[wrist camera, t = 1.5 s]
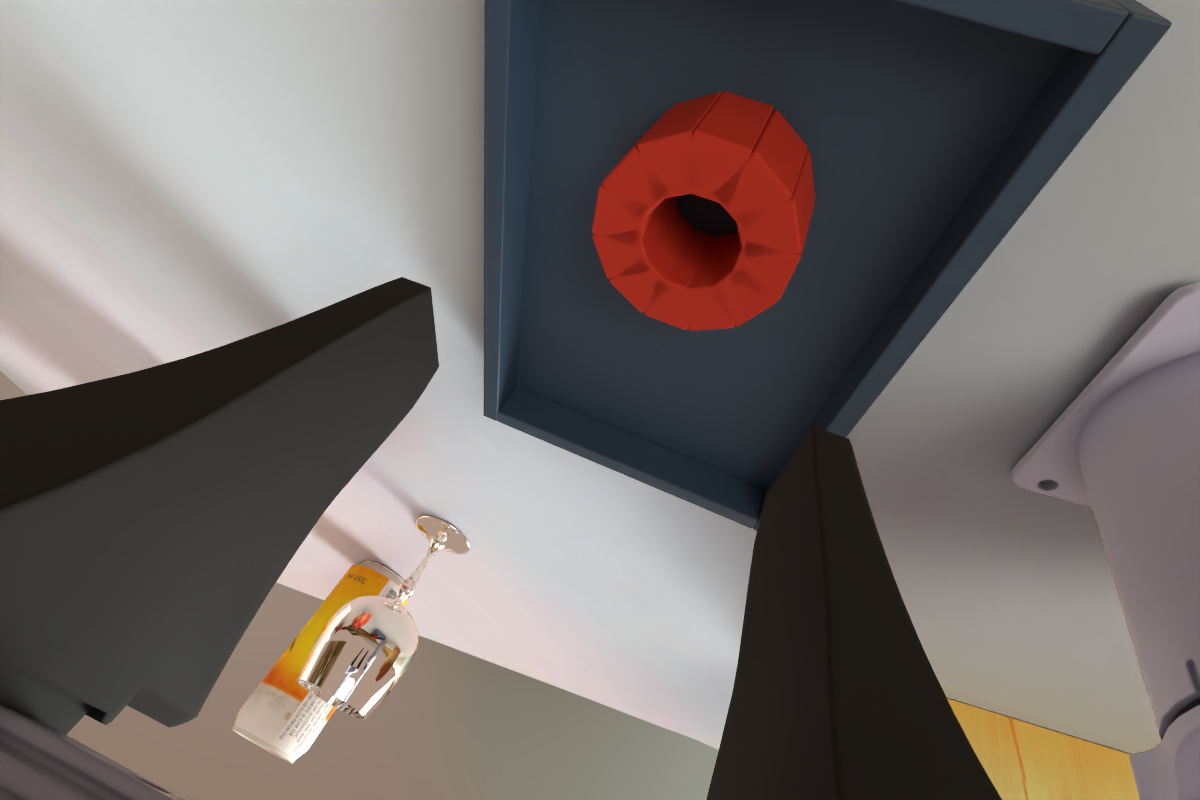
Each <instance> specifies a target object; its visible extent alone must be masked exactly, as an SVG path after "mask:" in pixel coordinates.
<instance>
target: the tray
mask: <svg viewBox="0 0 1200 800" xmlns="http://www.w3.org/2000/svg"><path fill="white" fill-rule="evenodd" d="M1171 24H1172V23H1171V22H1170V21H1169V20H1167V19H1165V18H1164V17H1162V16H1160V15H1159V14H1157V13H1155V12H1154V11H1152V10H1150V9H1148V8H1147V7H1145V6H1143V5H1142V4H1141V3H1139V2H1137V1H1134V0H485V145H484V416H486V417H489V418H491V419H493V420H496V421H497V420H498V421H499V422H501V423H503V424H506V425H508V426H510V427H513V428H515V429H518V430H520V431H522V432H525V433H527V434H529V435H532V436H534V437H536V438H539V439H541V440H544V441H546V442H548V443H551V444H553V445H555V446H558V447H560V448H562V449H565V450H567V451H570V452H572V453H574V454H577V455H579V456H581V457H584V458H586V459H589V460H591V461H593V462H596V463H598V464H600V465H603V466H605V467H607V468H610V469H612V470H615V471H617V472H619V473H622V474H624V475H626V476H629V477H631V478H634V479H636V480H638V481H641V482H643V483H645V484H648V485H650V486H652V487H655V488H657V489H660V490H662V491H664V492H667V493H669V494H671V495H674V496H676V497H679V498H681V499H683V500H686V501H688V502H690V503H693V504H695V505H697V506H700V507H702V508H705V509H707V510H709V511H712V512H714V513H716V514H719V515H721V516H724V517H726V518H728V519H731V520H733V521H735V522H738V523H740V524H742V525H745V526H747V527H750V528H753V529H754V530H757V531H758V527H759V523H760V519H761V515H762V512H763V508H764V504H765V501H766V497H767V493H768V492H769V490H770V489H771V487H772V486H773V484H774V483H775V481H776V480H777V478H778V477H779V475H780V474H781V472H782V471H783V469H784V468H785V466H786V465H787V463H788V462H789V460H790V459H791V457H792V456H793V454H794V453H795V451H796V450H797V448H798V447H799V445H800V444H801V442H802V441H803V439H804V438H805V436H806V435H807V433H808V432H809V430H810V429H811V427H812V426H815V427H817V428H820V429H823V430H826V431H828V432H831V433H834V434H837V435H840V436H842V437H845V438H846V437H847V435H848V434H849V433H850V431H851V430H852V429H853V428H854V426H855V425H856V424H857V423H858V421H859V420H860V419H861V418H862V416H863V415H864V414H865V412H866V411H867V410H868V409H869V407H870V406H871V405H872V404H873V402H874V401H875V400H876V399H877V397H878V396H879V395H880V393H881V392H882V391H883V390H884V388H885V387H886V386H887V385H888V383H889V382H890V381H891V380H892V378H893V377H894V376H895V375H896V373H897V372H898V371H899V369H900V368H901V367H902V366H903V364H904V363H905V362H906V361H907V359H908V358H909V357H910V356H911V354H912V353H913V352H914V350H915V349H916V348H917V347H918V345H919V344H920V343H921V342H922V340H923V339H924V338H925V337H926V335H927V334H928V333H929V331H930V330H931V329H932V328H933V326H934V325H935V324H936V323H937V321H938V320H939V319H940V318H941V316H942V315H943V314H944V313H945V311H946V310H947V309H948V307H949V306H950V305H951V304H952V302H953V301H954V300H955V299H956V297H957V296H958V295H959V294H960V292H961V291H962V290H963V288H964V287H965V286H966V285H967V283H968V282H969V281H970V280H971V278H972V277H973V276H974V275H975V273H976V272H977V271H978V270H979V268H980V267H981V266H982V264H983V263H984V262H985V261H986V259H987V258H988V257H989V256H990V254H991V253H992V252H993V251H994V249H995V248H996V247H997V245H998V244H999V243H1000V242H1001V240H1002V239H1003V238H1004V237H1005V235H1006V234H1007V233H1008V232H1009V230H1010V229H1011V228H1012V226H1013V225H1014V224H1015V223H1016V221H1017V220H1018V219H1019V218H1020V216H1021V215H1022V214H1023V213H1024V211H1025V210H1026V209H1027V208H1028V206H1029V205H1030V204H1031V202H1032V201H1033V200H1034V199H1035V197H1036V196H1037V195H1038V194H1039V192H1040V191H1041V190H1042V189H1043V187H1044V186H1045V185H1046V183H1047V182H1048V181H1049V180H1050V178H1051V177H1052V176H1053V175H1054V173H1055V172H1056V171H1057V170H1058V168H1059V167H1060V166H1061V164H1062V163H1063V162H1064V161H1065V159H1066V158H1067V157H1068V156H1069V154H1070V153H1071V152H1072V151H1073V149H1074V148H1075V147H1076V146H1077V144H1078V143H1079V142H1080V140H1081V139H1082V138H1083V137H1084V135H1085V134H1086V133H1087V132H1088V130H1089V129H1090V128H1091V127H1092V125H1093V124H1094V123H1095V121H1096V120H1097V119H1098V118H1099V116H1100V115H1101V114H1102V113H1103V111H1104V110H1105V109H1106V108H1107V106H1108V105H1109V104H1110V102H1111V101H1112V100H1113V99H1114V97H1115V96H1116V95H1117V94H1118V92H1119V91H1120V90H1121V89H1122V87H1123V86H1124V85H1125V84H1126V82H1127V81H1128V80H1129V78H1130V77H1131V76H1132V75H1133V73H1134V72H1135V71H1136V70H1137V68H1138V67H1139V66H1140V65H1141V63H1142V62H1143V61H1144V59H1145V58H1146V57H1147V56H1148V54H1149V53H1150V52H1151V51H1152V49H1153V48H1154V47H1155V46H1156V44H1157V43H1158V42H1159V40H1160V39H1161V38H1162V37H1163V35H1164V34H1165V33H1166V32H1167V30H1168V29H1169V28H1170V26H1171ZM720 91H721V92H722V94H723V93H724V92H725V91H727V92H730V93H733V94H736V95H740V96H743V97H746V98H749V99H752V100H756V101H759V102H762V103H765V104H769V105H772V106H774V109H773V111H774V110H777V111H779V112H780V113H781V115H782V116H783V117H784V118H785V119H786V121H787V122H788V123H789V124H790V126H791V127H792V128H793V129H794V131H795V132H796V133H797V134H798V135H799V137H800V138H801V139H802V140H803V142H804V143H805V144H806V145H807V148H808V150H807V151H808V152H810V154H811V162H812V171H813V181H814V190H815V201H814V203H815V204H814V208H813V212H812V216H811V220H810V224H809V228H808V232H807V236H806V240H805V244H804V248H803V252H802V255H801V258H800V260H799V262H798V264H797V266H796V268H795V270H794V272H793V274H792V276H791V278H790V280H789V282H788V284H787V286H786V289H785V291H784V293H783V295H782V297H781V299H780V300H777V303H775V304H774V305H772V306H771V307H769V308H767V309H766V310H764V311H763V312H761V313H759V314H758V315H756V316H755V317H753V318H751V319H750V320H748V321H747V322H745V323H743V324H742V325H740V326H738V327H737V326H736V325H735V327H734V328H725V329H712V330H698V331H690V330H689V328H687V329H686V330H683V329H681V328H678V327H675V326H673V325H670V324H667V323H665V322H662V321H659V320H657V319H654V318H651V317H649V316H646V315H645V313H644V312H642V313H641V312H639V311H638V310H637V309H636V308H635V307H634V306H633V305H632V304H631V303H630V302H629V301H628V300H627V299H626V298H625V297H624V296H623V295H622V294H621V293H620V292H619V291H618V290H617V289H616V288H615V287H614V286H613V285H612V284H611V283H610V279H607V277H606V274H605V271H604V269H603V266H602V263H601V260H600V257H599V255H598V252H597V249H596V246H595V243H594V241H593V238H592V235H593V233H592V226H593V220H594V214H595V208H596V202H597V196H598V190H599V186H600V185H601V184H602V181H603V180H604V178H605V177H606V176H607V175H608V174H609V173H610V172H611V171H612V170H613V168H614V167H615V166H616V165H617V164H618V163H619V162H620V161H621V159H622V158H623V157H624V156H625V155H626V154H627V153H628V152H629V150H630V149H631V148H632V147H633V146H634V145H635V144H636V143H637V142H638V141H639V140H640V139H641V138H642V137H643V135H644V134H645V133H646V132H647V131H648V130H649V129H650V128H651V127H652V126H653V125H654V124H655V123H656V122H657V121H658V120H659V118H660V117H661V116H662V115H663V114H664V113H665V112H666V111H667V110H668V109H670V108H672V107H673V105H675V104H678V103H681V102H685V101H688V100H692V99H695V98H699V97H702V96H706V95H709V94H713V93H716V92H720ZM676 201H677V205H678V209H679V213H680V214H681V215H682V216H683V218H684V219H685V220H686V221H687V222H688V223H689V224H690V225H691V226H692V227H693V228H694V229H695V230H698V231H700V232H703V233H706V234H709V235H712V236H721V235H727V234H733V233H737V232H738V227H737V222H736V221H735V220H734V219H733V218H732V216H731V215H730V214H729V213H728V212H727V211H726V210H725V209H724V208H723V206H722V205H721V204H720V203H718V202H715V201H712V200H709V199H706V198H703V197H700V196H697V195H694V194H686V195H681V196H676Z"/></svg>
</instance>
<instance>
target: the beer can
mask: <svg viewBox="0 0 1200 800" xmlns="http://www.w3.org/2000/svg"><path fill="white" fill-rule="evenodd" d="M402 582H403V579H401V578H400V577H399V576H398V575H397V574H396V573H394V572H393V571H391V570H390V569H388V568H386V567H385V566H383V565H381V564H378V563H376V562H373V561H363V562H362V563H360V564H355V565H353V566H352V567H351V568H350V569H349V570H348V572H347V573H346V574H345V575H344V577H343V578H342V579H341V581H340V582H339V583H338V584H337V586H336V587H335V588H334V590H333V591H332V592H331V593H330V595H329V596H328V597H327V599H326V600H325V601H324V603H323V604H322V605H321V606H320V608H319V609H318V610H317V611H316V613H315V614H314V615H313V617H312V618H311V619H310V620H309V622H308V623H307V624H306V625H305V627H304V628H303V629H302V631H301V632H300V633H299V634H298V636H297V637H296V638H295V640H294V641H293V642H292V644H291V645H290V646H289V647H288V649H287V650H286V651H285V652H284V654H283V655H282V656H281V658H280V659H279V660H278V662H277V663H276V664H275V665H274V667H273V668H272V669H271V670H270V672H269V673H268V674H267V676H266V677H265V678H264V679H263V681H262V682H261V683H260V684H259V686H258V687H257V688H256V690H255V691H254V692H253V693H252V695H251V696H250V697H249V699H248V700H247V701H246V703H245V704H244V705H243V706H242V708H241V709H240V710H239V713H238V716H237V719H236V722H235V726H234V727H233V728H232V730H233V731H235V732H236V733H238V734H239V735H241V736H243V737H244V738H246V739H248V740H250V741H251V742H253V743H255V744H256V745H258V746H260V747H262V748H263V749H265V750H267V751H269V752H270V753H272V754H274V755H276V756H278V757H280V758H281V759H283V760H285V761H287V762H289V763H292V764H293V762H294V761H295V760H296V759H297V758H298V757H300V756H301V755H302V754H304V753H305V752H306V751H308V750H309V748H310V747H311V745H312V743H313V742H314V740H315V739H316V737H317V736H318V734H319V733H320V731H321V730H322V729H323V727H324V726H325V724H326V722H327V721H328V720H329V718H330V717H331V715H332V714H333V712H334V711H335V709H336V708H335V707H333V706H332V705H330V704H328V703H326V702H325V701H323V700H321V699H320V698H318V697H317V696H315V695H314V694H312V693H311V692H309V691H308V690H307V689H305V688H304V687H303V686H302V685H301V684H299V682H298V681H297V679H298V676H299V674H300V672H301V670H302V668H303V666H304V664H305V662H306V660H307V657H308V655H309V653H310V651H311V649H312V647H313V645H314V644H315V642H316V640H317V638H318V637H319V635H320V633H321V632H322V630H323V629H324V627H325V626H326V624H327V623H328V622H329V620H330V619H331V618H332V617H333V615H334V614H335V613H336V612H337V611H338V610H339V609H340V608H341V607H342V606H344V605H345V604H346V603H348V602H349V601H351V600H353V599H355V598H358V597H361V596H382V597H387V598H390V599H395V598H396V596H397V590H398V588H399V586H400V584H401V583H402ZM407 601H408V599H406V600H404V601H403V602H402V605H403V606H405V604H406V603H407Z"/></svg>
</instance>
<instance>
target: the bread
mask: <svg viewBox="0 0 1200 800" xmlns="http://www.w3.org/2000/svg"><path fill="white" fill-rule="evenodd" d="M947 700H948V702H949V704H950V706H951V708H952V710H953V712H954V714H955V716H956V718H957V719H958V721H959V723H960V725H961V727H962V729H963V731H964V733H965V735H966V737H967V738H968V740H969V742H970V744H971V746H972V748H973V750H974V752H975V754H976V756H977V757H978V759H979V761H980V763H981V764H982V766H983V768H984V769H985V771H986V773H987V775H988V776H989V778H990V780H991V781H992V783H993V785H994V787H995V788H996V790H997V792H998V794H999V795H1000V797H1001V799H1002V800H1140V798H1139V794H1138V790H1137V786H1136V783H1135V779H1134V775H1133V771H1132V767H1131V763H1130V759H1129V756H1130V754H1127V753H1124V752H1120V751H1117V750H1114V749H1111V748H1107V747H1104V746H1101V745H1098V744H1094V743H1091V742H1088V741H1085V740H1081V739H1078V738H1075V737H1072V736H1068V735H1065V734H1062V733H1058V732H1055V731H1052V730H1049V729H1045V728H1042V727H1039V726H1036V725H1032V724H1029V723H1026V722H1023V721H1019V720H1016V719H1013V718H1010V717H1006V716H1003V715H1000V714H997V713H993V712H990V711H987V710H984V709H980V708H977V707H974V706H970V705H967V704H964V703H961V702H957V701H954V700H951V699H948V698H947Z"/></svg>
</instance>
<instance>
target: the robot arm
mask: <svg viewBox="0 0 1200 800" xmlns="http://www.w3.org/2000/svg"><path fill="white" fill-rule="evenodd" d="M438 367H439V363H438V353H437V343H436V334H435V324H434V315H433V305H432V295H431V288H430V287H428V286H425V285H422V284H419V283H417V282H414V281H411V280H408V279H406V278H403V277H401V278H398V279H395V280H393V281H390V282H387V283H384V284H382V285H379V286H377V287H374V288H372V289H369V290H367V291H364V292H362V293H359V294H357V295H354V296H352V297H350V298H347V299H345V300H342V301H340V302H337V303H335V304H333V305H330V306H328V307H325V308H323V309H320V310H318V311H315V312H313V313H310V314H308V315H305V316H303V317H300V318H298V319H295V320H293V321H290V322H288V323H285V324H283V325H280V326H277V327H274V328H272V329H269V330H266V331H263V332H260V333H258V334H255V335H252V336H249V337H247V338H244V339H241V340H238V341H235V342H233V343H230V344H227V345H224V346H222V347H219V348H215V349H212V350H209V351H206V352H203V353H200V354H197V355H193V356H190V357H187V358H184V359H180V360H176V361H173V362H169V363H166V364H162V365H159V366H155V367H152V368H148V369H144V370H140V371H137V372H133V373H129V374H124V375H120V376H116V377H111V378H107V379H102V380H98V381H94V382H89V383H85V384H80V385H76V386H72V387H67V388H63V389H58V390H54V391H49V392H44V393H38V394H33V395H28V396H22V397H17V398H11V399H6V400H0V800H184V799H182V798H181V797H179V796H177V795H175V794H173V793H171V792H170V791H168V790H166V789H164V788H162V787H160V786H159V785H157V784H155V783H153V782H151V781H149V780H148V779H146V778H144V777H142V776H140V775H139V774H137V773H135V772H133V771H131V770H129V769H128V768H126V767H124V766H122V765H120V764H118V763H117V762H115V761H113V760H111V759H109V758H107V757H106V756H104V755H102V754H100V753H98V752H96V751H95V750H93V749H91V748H89V747H87V746H85V745H83V744H82V743H80V742H78V741H76V740H74V739H73V738H71V737H69V736H67V735H66V734H67V733H68V732H69V731H70V730H71V729H72V728H73V727H74V726H75V725H76V724H77V723H78V722H79V721H80V719H81V718H82V717H83V716H84V715H85V714H86V715H88V716H90V717H92V718H93V719H95V720H97V721H99V722H101V723H103V724H105V725H106V724H108V723H110V722H112V721H113V720H114V718H115V717H116V716H117V715H118V714H119V713H120V712H121V711H122V710H123V708H124V707H125V706H126V705H128V706H129V707H132V708H133V709H135V710H137V711H139V712H141V713H143V714H145V715H147V716H149V717H150V718H152V719H154V720H156V721H158V722H160V723H162V724H164V725H166V726H167V727H173V726H177V725H180V724H183V723H185V722H188V721H190V720H192V719H194V718H195V717H197V716H198V714H199V712H200V710H201V708H202V706H203V704H204V702H205V700H206V699H207V697H208V695H209V693H210V691H211V690H212V688H213V686H214V684H215V683H216V681H217V679H218V677H219V675H220V674H221V672H222V670H223V668H224V667H225V664H226V663H227V661H228V659H229V658H230V656H231V654H232V652H233V651H234V649H235V647H236V645H237V644H238V642H239V640H240V639H241V637H242V636H243V634H244V632H245V631H246V629H247V627H248V626H249V624H250V622H251V621H252V619H253V618H254V616H255V614H256V613H257V611H258V609H259V608H260V606H261V605H262V603H263V601H264V600H265V598H266V596H267V595H268V593H269V592H270V590H271V589H272V587H273V586H274V584H275V583H276V581H277V580H278V578H279V577H280V575H281V574H282V572H283V571H284V569H285V568H286V566H287V564H288V563H289V561H290V560H291V558H292V557H293V555H294V554H295V552H296V551H297V550H298V548H299V547H300V545H301V544H302V542H303V541H304V540H305V538H306V537H307V535H308V534H309V532H310V531H311V530H312V528H313V527H314V525H315V524H316V522H317V521H318V520H319V518H320V517H321V515H322V514H323V512H324V511H325V510H326V509H327V507H328V506H329V505H330V504H331V502H332V501H333V500H334V499H335V497H336V496H337V495H338V494H339V492H340V491H341V490H342V489H343V488H344V487H345V485H346V484H347V483H348V482H349V481H350V480H351V479H352V477H353V476H354V475H355V474H356V473H357V472H358V470H359V469H360V468H361V467H362V466H363V465H364V464H365V462H366V461H367V460H368V459H369V458H370V457H371V456H372V454H373V453H374V452H375V451H376V450H377V449H378V448H379V446H380V445H381V444H382V443H383V442H384V441H385V440H386V438H387V437H388V436H389V435H390V434H391V433H392V431H393V430H394V429H395V428H396V427H397V425H398V424H399V423H400V422H401V421H402V420H403V418H404V417H405V416H406V415H407V414H408V412H409V411H410V410H411V409H412V408H413V406H414V405H415V403H416V402H417V400H418V399H419V397H420V396H421V394H422V393H423V391H424V390H425V388H426V387H427V385H428V383H429V382H430V380H431V379H432V377H433V375H434V374H435V372H436V371H437V369H438ZM1011 474H1012V479H1013V483H1014V484H1015V485H1016V486H1018V487H1021V488H1023V489H1027V490H1030V491H1034V492H1037V493H1041V494H1044V495H1048V496H1052V497H1055V498H1059V499H1062V500H1066V501H1069V502H1073V503H1076V504H1080V505H1083V506H1087V507H1091V508H1093V512H1094V515H1095V518H1096V522H1097V525H1098V528H1099V532H1100V535H1101V539H1102V542H1103V545H1104V549H1105V552H1106V555H1107V559H1108V562H1109V566H1110V569H1111V572H1112V576H1113V579H1114V582H1115V586H1116V589H1117V593H1118V596H1119V599H1120V603H1121V606H1122V609H1123V613H1124V616H1125V620H1126V623H1127V626H1128V630H1129V633H1130V636H1131V640H1132V643H1133V647H1134V650H1135V653H1136V657H1137V660H1138V663H1139V667H1140V670H1141V674H1142V677H1143V680H1144V684H1145V687H1146V690H1147V694H1148V697H1149V701H1150V704H1151V707H1152V711H1153V714H1154V717H1155V721H1156V724H1157V727H1158V731H1159V734H1160V737H1161V740H1162V741H1161V743H1160V744H1159V745H1158V746H1157V747H1155V748H1152V749H1150V750H1147V751H1144V752H1139V753H1134V754H1131V755H1130V756H1129V759H1130V763H1131V767H1132V771H1133V775H1134V779H1135V783H1136V786H1137V790H1138V794H1139V798H1140V800H1200V282H1198V283H1193V284H1188V285H1185V286H1183V287H1180V288H1178V289H1176V290H1175V291H1174V292H1172V293H1171V294H1170V295H1169V296H1168V297H1167V298H1166V299H1165V300H1164V301H1163V302H1162V303H1161V305H1160V306H1159V307H1158V308H1157V309H1156V310H1155V311H1154V312H1153V313H1152V315H1151V316H1150V317H1149V318H1148V319H1147V320H1146V321H1145V322H1144V323H1143V325H1142V326H1141V327H1140V328H1139V329H1138V330H1137V331H1136V332H1135V333H1134V335H1133V336H1132V337H1131V338H1130V339H1129V340H1128V341H1127V342H1126V343H1125V345H1124V346H1123V347H1122V348H1121V349H1120V350H1119V351H1118V352H1117V353H1116V355H1115V356H1114V357H1113V358H1112V359H1111V360H1110V361H1109V362H1108V363H1107V365H1106V366H1105V367H1104V368H1103V369H1102V370H1101V371H1100V372H1099V373H1098V375H1097V376H1096V377H1095V378H1094V379H1093V380H1092V381H1091V382H1090V383H1089V385H1088V386H1087V387H1086V388H1085V389H1084V390H1083V391H1082V392H1081V393H1080V395H1079V396H1078V397H1077V398H1076V399H1075V400H1074V401H1073V402H1072V403H1071V405H1070V406H1069V407H1068V408H1067V409H1066V410H1065V411H1064V412H1063V413H1062V415H1061V416H1060V417H1059V418H1058V419H1057V420H1056V421H1055V422H1054V423H1053V425H1052V426H1051V427H1050V428H1049V429H1048V430H1047V431H1046V432H1045V433H1044V435H1043V436H1042V437H1041V438H1040V439H1039V440H1038V441H1037V442H1036V443H1035V445H1034V446H1033V447H1032V448H1031V449H1030V450H1029V451H1028V452H1027V453H1026V455H1025V456H1024V457H1023V458H1022V459H1021V460H1020V461H1019V462H1018V463H1017V465H1016V466H1015V467H1014V468H1013V470H1012V472H1011ZM1043 480H1052V481H1047V482H1044V481H1043ZM707 800H1002V799H1001V797H1000V795H999V794H998V792H997V790H996V788H995V787H994V785H993V783H992V781H991V780H990V778H989V776H988V775H987V773H986V771H985V769H984V768H983V766H982V764H981V763H980V761H979V759H978V757H977V756H976V754H975V752H974V750H973V748H972V746H971V744H970V742H969V740H968V738H967V737H966V735H965V733H964V731H963V729H962V727H961V725H960V723H959V721H958V719H957V718H956V716H955V714H954V712H953V710H952V708H951V706H950V704H949V702H948V700H947V698H946V696H945V694H944V691H943V689H942V687H941V685H940V683H939V681H938V679H937V677H936V675H935V673H934V671H933V669H932V667H931V664H930V662H929V660H928V658H927V656H926V654H925V651H924V649H923V647H922V645H921V642H920V640H919V638H918V635H917V633H916V631H915V628H914V626H913V624H912V621H911V619H910V616H909V614H908V611H907V609H906V607H905V604H904V602H903V599H902V597H901V594H900V592H899V589H898V586H897V584H896V581H895V579H894V576H893V573H892V571H891V568H890V565H889V562H888V559H887V557H886V554H885V551H884V548H883V545H882V542H881V540H880V537H879V534H878V531H877V528H876V525H875V522H874V519H873V516H872V512H871V509H870V506H869V503H868V500H867V496H866V493H865V490H864V486H863V483H862V480H861V476H860V473H859V469H858V466H857V462H856V459H855V455H854V452H853V448H852V445H851V443H850V440H849V439H848V438H845V437H842V436H840V435H837V434H834V433H831V432H828V431H826V430H823V429H820V428H817V427H815V426H812V427H811V429H810V430H809V432H808V433H807V435H806V436H805V438H804V439H803V441H802V442H801V444H800V445H799V447H798V448H797V450H796V451H795V453H794V454H793V456H792V457H791V459H790V460H789V462H788V463H787V465H786V466H785V468H784V469H783V471H782V472H781V474H780V475H779V477H778V478H777V480H776V481H775V483H774V484H773V486H772V487H771V489H770V490H769V492H768V493H767V497H766V501H765V504H764V508H763V512H762V515H761V519H760V523H759V527H758V531H757V535H756V539H755V543H754V548H753V555H752V562H751V570H750V577H749V584H748V591H747V599H746V606H745V614H744V621H743V629H742V636H741V644H740V651H739V659H738V666H737V671H736V677H735V683H734V688H733V693H732V697H731V702H730V706H729V710H728V714H727V719H726V723H725V727H724V731H723V735H722V740H721V744H720V748H719V752H718V756H717V760H716V764H715V768H714V772H713V776H712V780H711V784H710V788H709V792H708V796H707Z"/></svg>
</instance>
